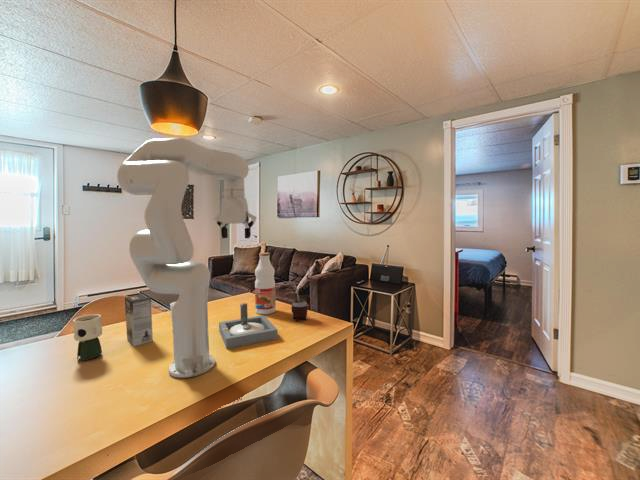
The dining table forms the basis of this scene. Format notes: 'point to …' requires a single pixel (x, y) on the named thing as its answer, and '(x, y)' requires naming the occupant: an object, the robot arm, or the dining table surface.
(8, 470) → the dining table surface
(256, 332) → the housing
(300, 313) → the mate gourd
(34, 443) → the dining table surface
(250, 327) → the dial
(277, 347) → the dining table surface
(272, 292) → the fruit juice
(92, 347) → the character mug
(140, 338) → the coffee box
